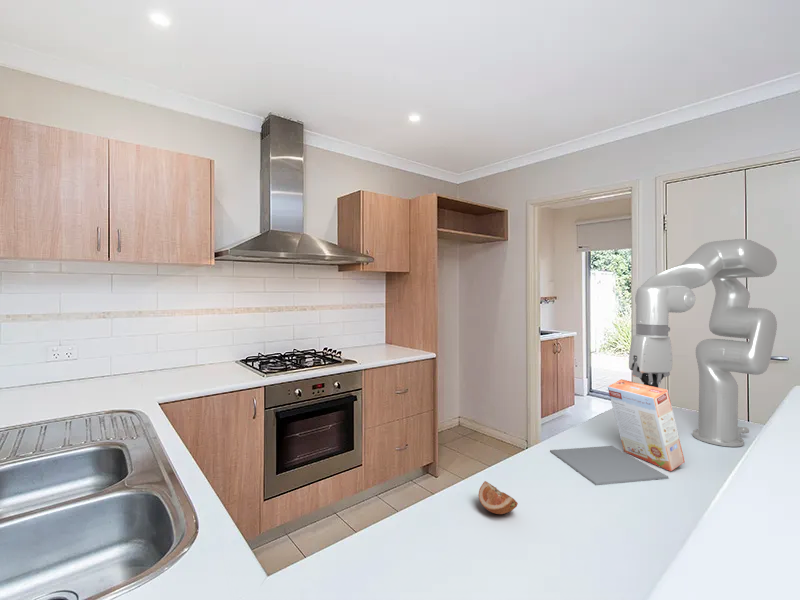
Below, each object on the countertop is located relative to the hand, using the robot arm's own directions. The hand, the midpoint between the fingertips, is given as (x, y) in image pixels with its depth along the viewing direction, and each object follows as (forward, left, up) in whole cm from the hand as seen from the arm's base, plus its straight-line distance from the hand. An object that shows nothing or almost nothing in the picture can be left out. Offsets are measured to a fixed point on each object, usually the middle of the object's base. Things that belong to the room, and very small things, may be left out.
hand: (650, 397), depth 108 cm
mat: (+14, 0, -17) cm, 22 cm away
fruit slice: (+52, +17, -18) cm, 57 cm away
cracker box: (-1, 0, -17) cm, 17 cm away
